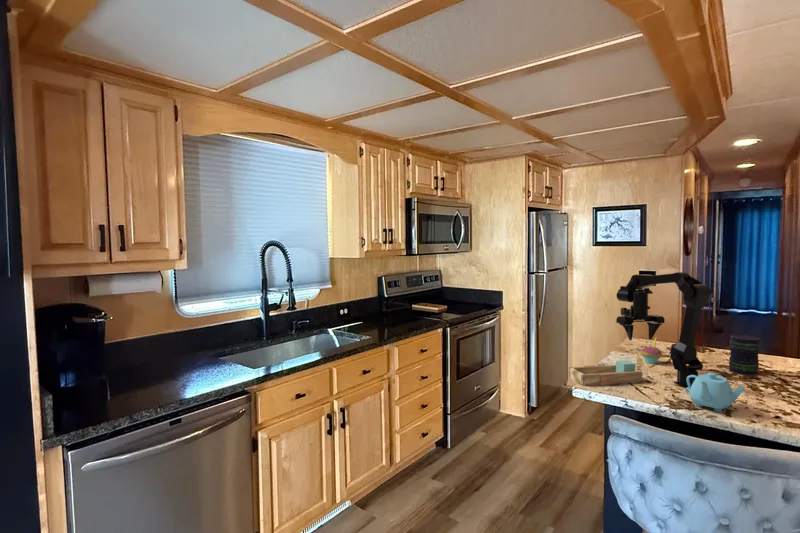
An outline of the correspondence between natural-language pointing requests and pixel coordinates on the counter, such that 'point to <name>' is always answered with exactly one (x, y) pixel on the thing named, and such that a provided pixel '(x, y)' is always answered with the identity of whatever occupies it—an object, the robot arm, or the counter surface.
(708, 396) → the teapot
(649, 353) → the cupcake
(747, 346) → the storage jar
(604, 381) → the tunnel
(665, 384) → the counter surface
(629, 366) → the block
